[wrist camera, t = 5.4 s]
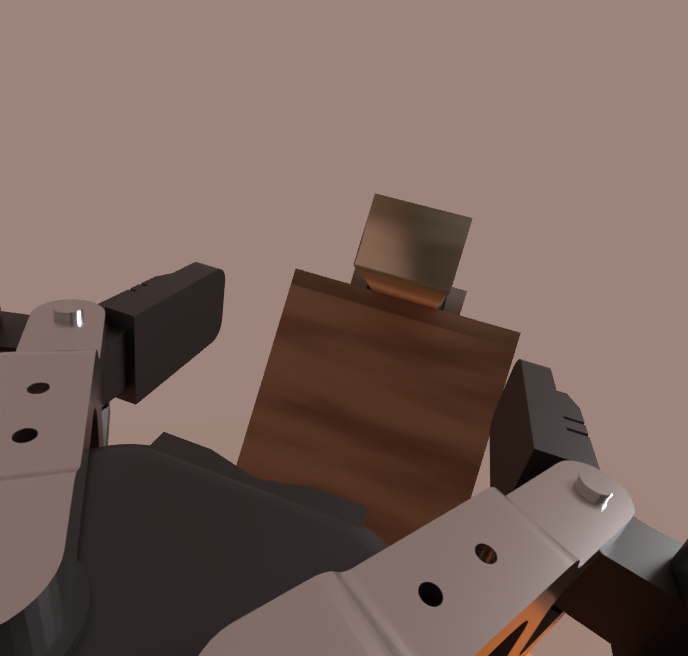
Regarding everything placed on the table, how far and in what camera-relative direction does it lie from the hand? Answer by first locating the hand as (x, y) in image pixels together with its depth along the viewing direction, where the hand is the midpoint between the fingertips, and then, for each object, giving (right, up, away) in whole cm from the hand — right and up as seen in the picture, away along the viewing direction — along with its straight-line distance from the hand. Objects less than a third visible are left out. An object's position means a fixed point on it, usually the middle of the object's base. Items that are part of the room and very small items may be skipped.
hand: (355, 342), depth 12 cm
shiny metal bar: (+4, +2, +18) cm, 19 cm away
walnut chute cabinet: (-5, -29, +24) cm, 38 cm away
